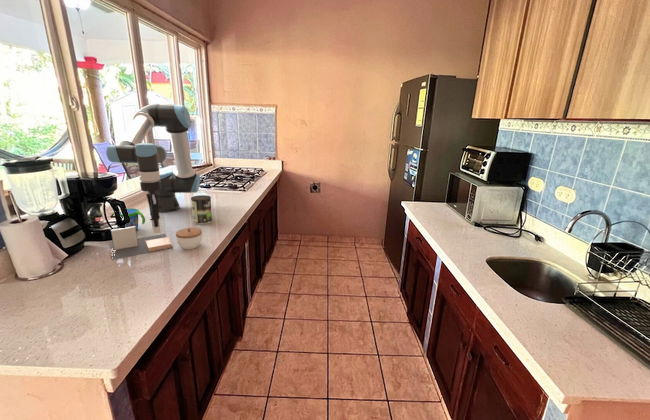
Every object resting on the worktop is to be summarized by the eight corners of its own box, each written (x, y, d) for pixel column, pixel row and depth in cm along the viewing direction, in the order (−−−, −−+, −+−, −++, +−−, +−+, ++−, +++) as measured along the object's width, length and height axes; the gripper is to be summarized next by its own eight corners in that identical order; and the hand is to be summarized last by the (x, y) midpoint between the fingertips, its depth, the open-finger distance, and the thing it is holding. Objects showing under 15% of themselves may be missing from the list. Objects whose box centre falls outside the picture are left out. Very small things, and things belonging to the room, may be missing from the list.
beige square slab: (145, 240, 138) (148, 247, 131) (167, 237, 143) (171, 243, 136) (146, 244, 138) (148, 252, 131) (167, 240, 143) (171, 247, 136)
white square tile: (114, 248, 133) (110, 229, 130) (137, 244, 138) (135, 226, 135) (114, 250, 131) (110, 231, 129) (138, 246, 137) (135, 227, 134)
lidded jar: (178, 254, 132) (175, 234, 129) (176, 244, 141) (174, 225, 138) (204, 250, 137) (202, 230, 134) (201, 241, 146) (200, 223, 143)
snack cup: (107, 233, 150) (103, 213, 147) (120, 226, 160) (117, 207, 157) (138, 234, 150) (135, 215, 147) (150, 227, 160) (148, 208, 157)
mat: (109, 243, 138) (109, 243, 138) (165, 234, 152) (165, 233, 151) (111, 261, 123) (111, 260, 123) (173, 249, 136) (173, 248, 136)
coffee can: (216, 219, 176) (214, 196, 172) (205, 225, 166) (204, 200, 162) (200, 217, 178) (198, 194, 174) (189, 223, 168) (186, 198, 164)
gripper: (138, 178, 131) (145, 229, 138) (141, 184, 121) (149, 239, 128) (157, 177, 136) (163, 226, 142) (162, 182, 126) (168, 236, 132)
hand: (156, 232), depth 135 cm, fingers closed
